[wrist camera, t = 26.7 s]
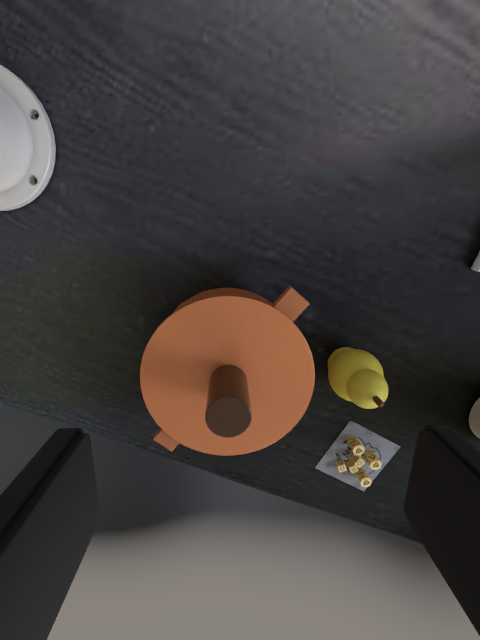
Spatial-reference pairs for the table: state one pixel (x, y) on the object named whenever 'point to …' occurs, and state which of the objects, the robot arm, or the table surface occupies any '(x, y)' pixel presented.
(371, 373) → the pear
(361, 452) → the dice set
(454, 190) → the table surface
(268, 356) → the pan lid
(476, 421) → the travel mug
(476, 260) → the hard drive
